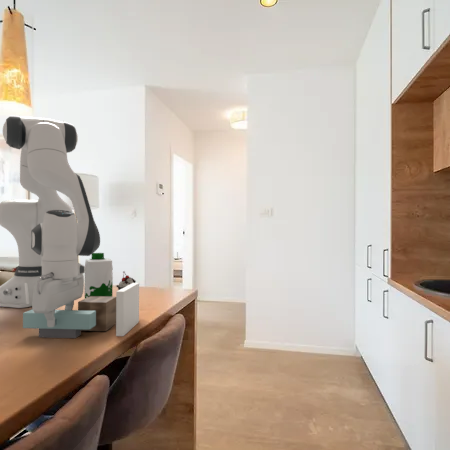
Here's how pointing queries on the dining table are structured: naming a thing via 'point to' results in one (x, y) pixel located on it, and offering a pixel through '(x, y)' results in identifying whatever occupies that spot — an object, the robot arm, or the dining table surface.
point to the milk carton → (98, 276)
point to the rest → (59, 333)
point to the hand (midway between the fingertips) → (59, 322)
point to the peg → (61, 319)
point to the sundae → (125, 282)
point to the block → (100, 311)
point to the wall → (127, 308)
